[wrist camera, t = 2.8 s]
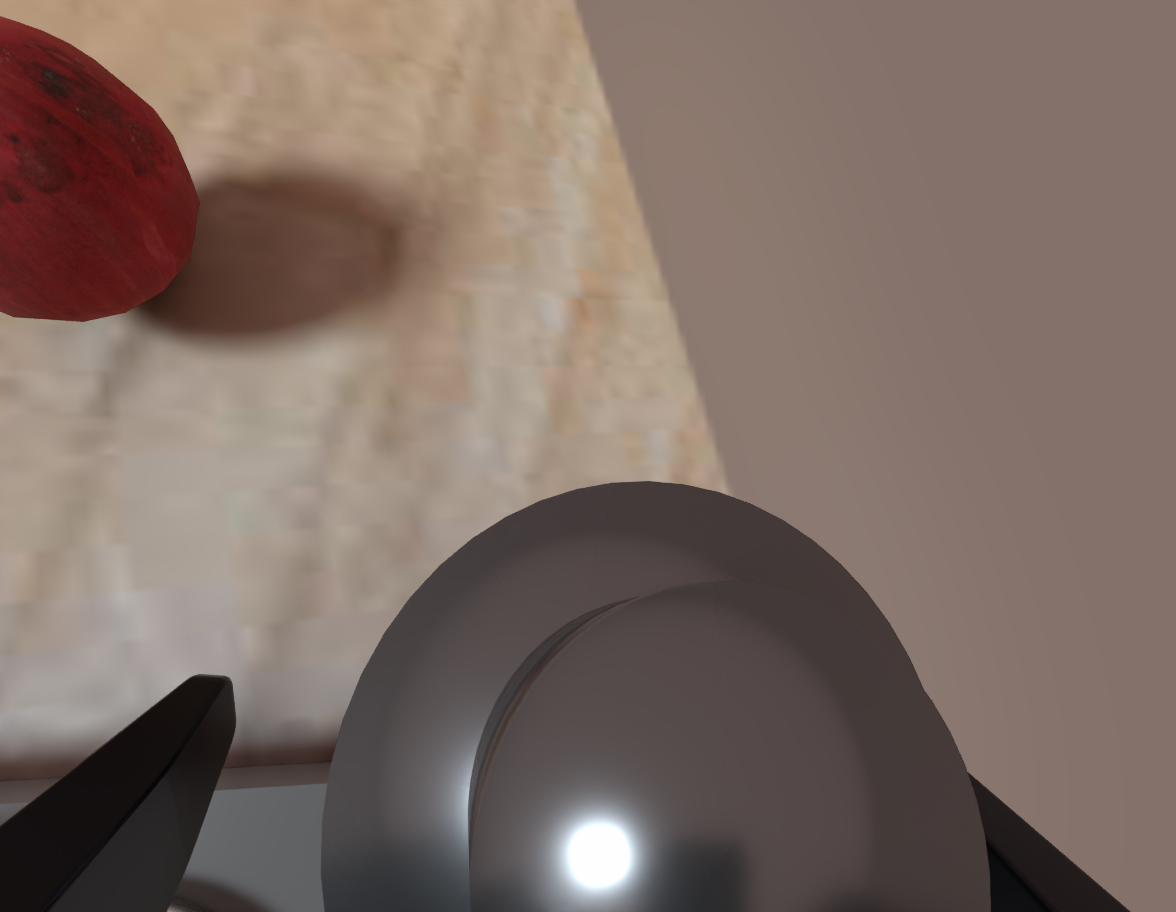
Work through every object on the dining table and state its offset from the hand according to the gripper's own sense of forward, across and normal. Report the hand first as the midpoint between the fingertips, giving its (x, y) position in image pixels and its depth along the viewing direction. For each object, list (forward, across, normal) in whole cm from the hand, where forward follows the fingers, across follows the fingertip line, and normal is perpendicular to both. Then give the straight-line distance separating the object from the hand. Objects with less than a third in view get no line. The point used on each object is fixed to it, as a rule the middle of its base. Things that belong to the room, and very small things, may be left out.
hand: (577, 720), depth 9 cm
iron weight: (+6, 0, +6) cm, 8 cm away
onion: (+13, +12, -1) cm, 18 cm away
